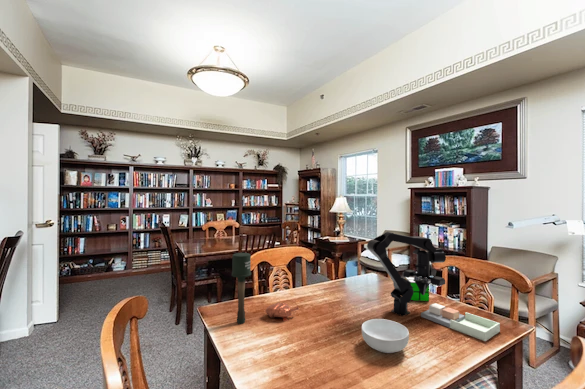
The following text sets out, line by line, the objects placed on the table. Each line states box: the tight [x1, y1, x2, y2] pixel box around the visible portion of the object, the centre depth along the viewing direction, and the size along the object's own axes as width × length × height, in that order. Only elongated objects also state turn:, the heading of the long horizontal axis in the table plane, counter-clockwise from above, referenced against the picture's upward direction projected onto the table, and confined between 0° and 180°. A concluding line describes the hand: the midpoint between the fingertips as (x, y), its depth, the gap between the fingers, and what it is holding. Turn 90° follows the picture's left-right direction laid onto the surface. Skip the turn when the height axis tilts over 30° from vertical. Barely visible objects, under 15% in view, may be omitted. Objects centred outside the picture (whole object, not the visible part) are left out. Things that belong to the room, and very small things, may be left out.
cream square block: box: [428, 302, 447, 315], centre depth 130 cm, size 5×5×3 cm
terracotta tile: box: [442, 307, 460, 320], centre depth 125 cm, size 5×5×3 cm
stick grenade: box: [231, 252, 252, 325], centre depth 122 cm, size 8×9×30 cm
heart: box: [265, 301, 300, 322], centre depth 129 cm, size 6×12×15 cm
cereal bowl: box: [361, 318, 410, 354], centre depth 103 cm, size 17×17×7 cm
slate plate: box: [420, 309, 465, 329], centre depth 128 cm, size 14×13×2 cm
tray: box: [449, 311, 501, 342], centre depth 117 cm, size 14×13×4 cm
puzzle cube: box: [404, 276, 430, 302], centre depth 154 cm, size 10×10×10 cm
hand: (422, 294), depth 136 cm, fingers closed
